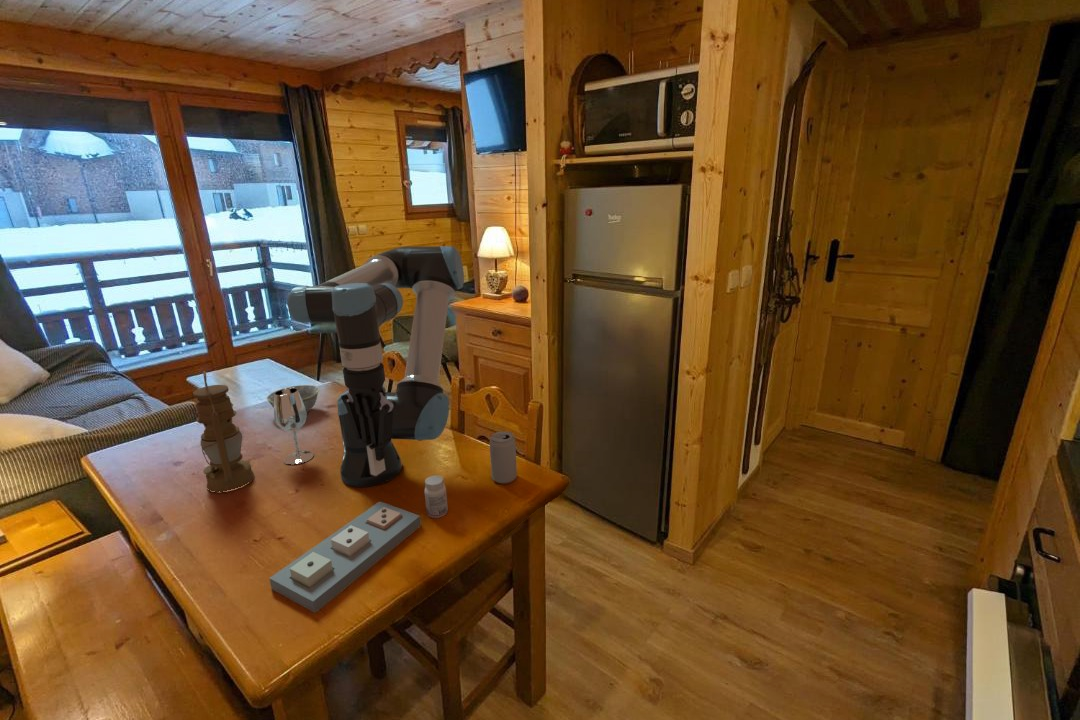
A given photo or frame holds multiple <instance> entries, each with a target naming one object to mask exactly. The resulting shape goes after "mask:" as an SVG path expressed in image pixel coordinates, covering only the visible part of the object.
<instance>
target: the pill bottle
mask: <svg viewBox="0 0 1080 720" xmlns="http://www.w3.org/2000/svg"><path fill="white" fill-rule="evenodd" d="M424 483H425V484H424V485H425V487H424V499H425V501H424V502H425V509H426V514H427V516H428V517H430V518H435V519H437V518H441V517H444V516H445V515H446V514H448V511H449V507H448V498H447V487H446V485H445V483H444V478H443V477H442V476H441V475H438V474H437V475H436V474H435V475H431V476H428V477H427V478H426V479H425V480H424Z"/></svg>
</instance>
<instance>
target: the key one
mask: <svg viewBox="0 0 1080 720" xmlns="http://www.w3.org/2000/svg"><path fill="white" fill-rule="evenodd" d="M289 569H290V573H291V578H292V580H294V581H296V582H298V583H300V584H302V585H303V586H305V587H307V588H310V587H312V586H313V585H314V584H316V583H317V582H318V581H320V580H321V579H322V578H323V577H325V576H326V575H327V574H329V573H330V572H331V571H333V568H332V562H331V560H330V559H328V558H325V557H323V556H321V555H319V554H317V553H315V552H312V553H311V554H309V555H308V556H306V557H305V558H304V559H302V560H301V561H299V562H298V563H297V564H295V565H294V566H292V567H291V568H289Z"/></svg>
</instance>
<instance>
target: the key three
mask: <svg viewBox="0 0 1080 720" xmlns="http://www.w3.org/2000/svg"><path fill="white" fill-rule="evenodd" d="M400 518H401V513H399V512H396V511H394V510H391V509H388V508H385V507H383V508H382V509H381V510H379V511H378V512H376V513H375V514H374V515H372V516H371V517H369V518H368V519H367V524H369V525H371V526H374V527H376V528H379V529H381V530H384V531H385V530H386V529H387V528H388V527H390V526H391V525H392V524H394V523H395V522H396V521H398V520H399V519H400Z"/></svg>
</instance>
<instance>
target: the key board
mask: <svg viewBox="0 0 1080 720" xmlns="http://www.w3.org/2000/svg"><path fill="white" fill-rule="evenodd" d="M383 507H385V508H388V509H391V510H394V511H396V512H399V513H401V518H400V519H399V520H398V521H396V522H395V523H394V524H392V525H391V526H390V527H388V528H387V529H386V530H385V531H384V530H381V529H379V528H376V527H374V526H371V525H369V524H367V519H368V518H369V517H371V516H372V515H374V514H375V513H376V512H378V511H379V510H381V509H382V508H383ZM421 520H422V519H421V515H419V514H416V513H413V512H410V511H408V510H405V509H403V508H399V507H397V506H394V505H391V504H389V503H385V502H383V501H378V502H377V503H375V504H373V505H372V506H371V507H369V508H368V509H366V510H365V511H364V512H363V513H361V514H359V515H358V516H356V517H355V518H354V519H352V520H351V521H349V522H348V523H346V524H345V525H343V526H342V527H341V528H339V529H338V530H336V531H335V532H334V533H332V534H331V535H329V536H328V537H326V538H325V539H323V540H322V541H321V542H319V543H318V544H316V545H315V546H314V547H312V548H310V549H309V550H307V551H306V552H304V553H303V554H302V555H300V556H299V557H297V558H296V559H295V560H293V561H291V562H290V563H288V564H287V565H286V566H285V567H283V568H282V569H280V570H278V571H277V572H276V573H274V574H273V575H271V576H270V577H269V578H268V579H269V583H270V587H271V590H273V591H274V592H276V593H278V594H280V595H281V596H283V597H285V598H287V599H289V600H291V601H292V602H294V603H296V604H298V605H300V606H301V607H304V608H305V609H307V610H309V611H311V612H313V613H315V614H316V613H317V612H319V610H321V609H322V608H324V606H326V605H327V604H328V603H329V602H330V601H332V600H333V599H334V598H335V597H337V596H338V595H339V594H340V593H341V592H343V591H344V590H346V588H347V587H349V586H350V585H351V584H352V583H353V582H355V581H356V580H357V579H359V578H360V577H361V576H362V575H364V574H365V573H366V572H368V571H369V569H370V568H372V567H373V566H374V565H375V564H377V563H378V562H379V561H380V560H382V559H383V558H384V557H385V556H386V555H387V554H389V553H390V552H391V551H393V549H395V548H396V547H398V545H400V544H401V543H402V542H403V541H404V540H406V538H408V537H409V536H410V535H411V534H413V533H414V532H415V531H416V530H417V529H419V528H420V527H421V526H422V523H421ZM351 525H352V526H354V527H356V528H359V529H361V530H364V531H366V532H368V533H369V540H370V542H369V543H368V544H366V545H365V546H364V547H362V548H361V549H360V550H359V551H357V552H356V553H355V554H353V555H352V556H351V557H348V556H346V555H343V554H341V553H339V552H337V551H335V550H332V544H331V539H332V538H333V537H335V536H336V535H338V534H339V533H341V532H342V531H343V530H345V529H346V528H348V527H349V526H351ZM312 552H315V553H317V554H319V555H321V556H323V557H325V558H328V559H330V560H331V562H332V568H333V571H331V572H330V573H329V574H327V575H326V576H325V577H323V578H322V579H321V580H320V581H318V582H317V583H316V584H314V585H313V586H312V587H310V588H307V587H305V586H303V585H302V584H300V583H298V582H296V581H294V580H292V578H291V573H290V569H289V568H291V567H292V566H294V565H295V564H297V563H298V562H299V561H301V560H302V559H304V558H305V557H306V556H308V555H309V554H311V553H312Z"/></svg>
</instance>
